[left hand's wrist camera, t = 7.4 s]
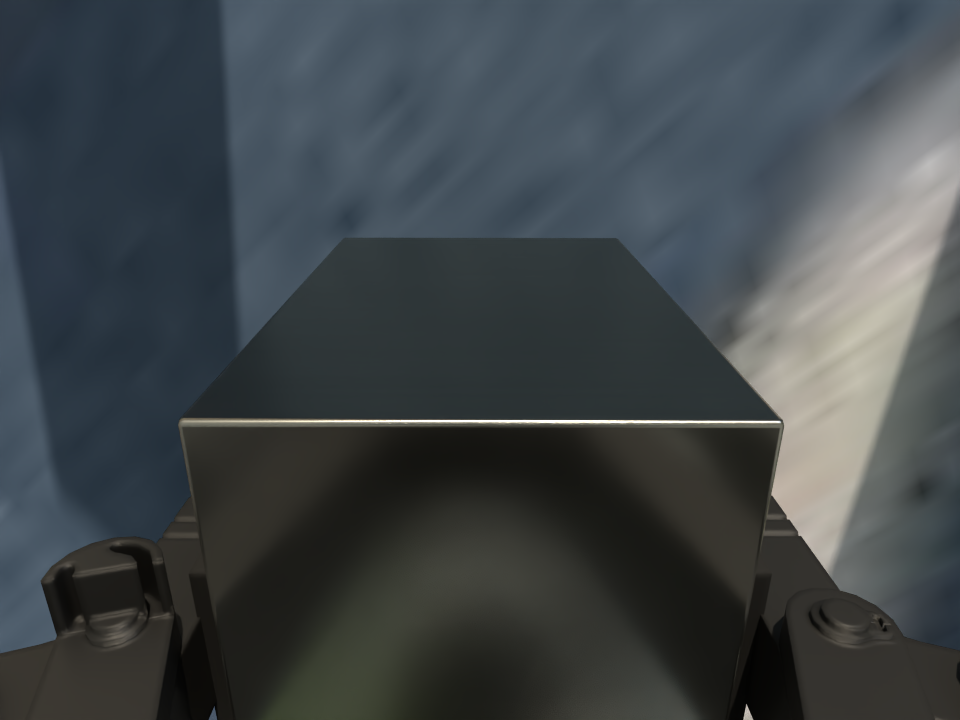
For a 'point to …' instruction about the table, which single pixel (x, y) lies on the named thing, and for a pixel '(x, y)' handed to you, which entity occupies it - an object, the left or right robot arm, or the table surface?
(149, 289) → the table surface
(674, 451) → the bar
